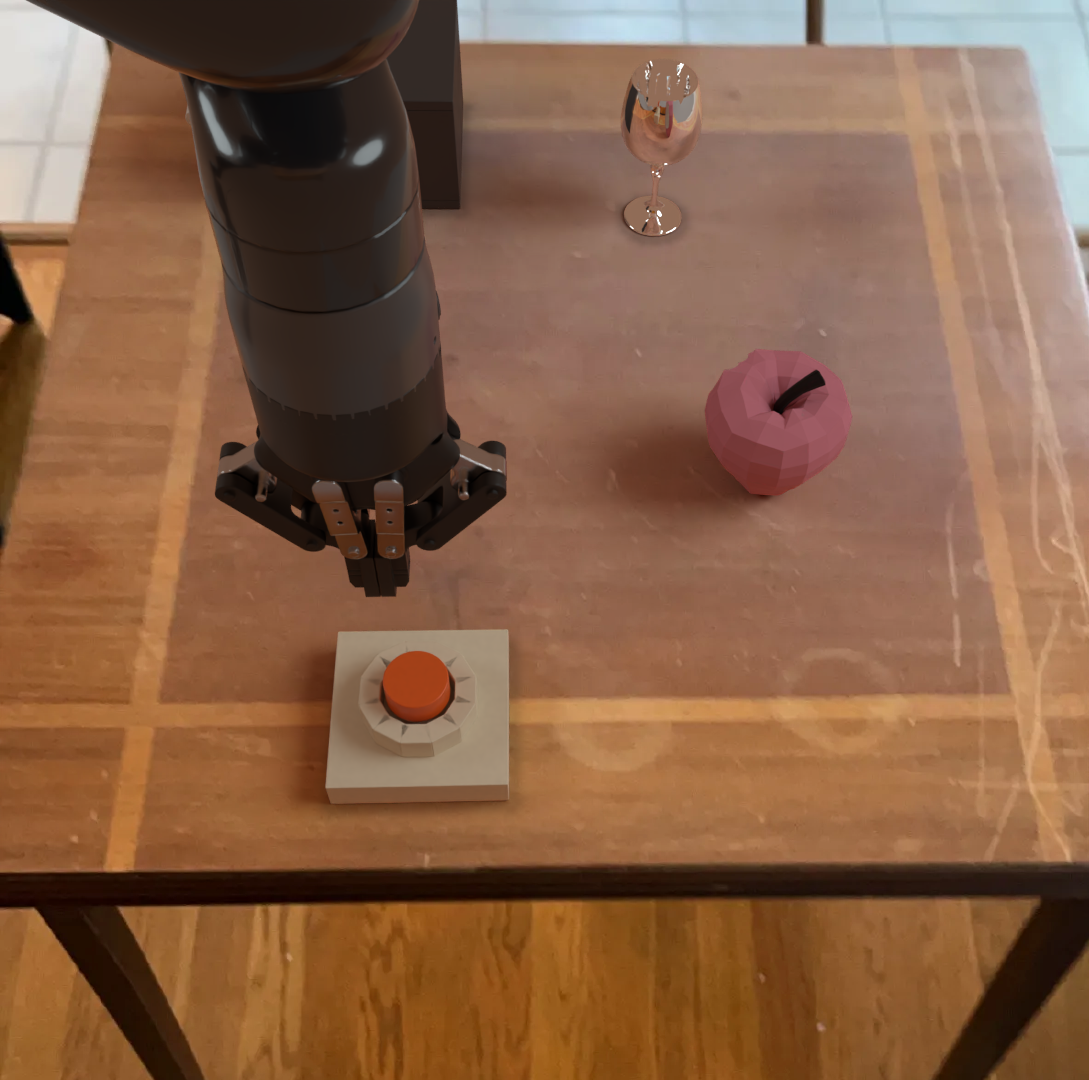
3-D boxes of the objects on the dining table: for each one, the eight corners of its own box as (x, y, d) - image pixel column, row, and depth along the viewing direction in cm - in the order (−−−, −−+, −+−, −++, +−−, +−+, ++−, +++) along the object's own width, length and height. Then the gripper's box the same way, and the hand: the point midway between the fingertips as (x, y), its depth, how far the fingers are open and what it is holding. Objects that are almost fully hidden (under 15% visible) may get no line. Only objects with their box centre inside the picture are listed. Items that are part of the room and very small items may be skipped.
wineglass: (607, 233, 98) (614, 97, 88) (624, 184, 101) (633, 47, 91) (681, 248, 98) (697, 113, 88) (697, 198, 101) (714, 62, 91)
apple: (767, 401, 90) (790, 296, 82) (860, 477, 87) (894, 375, 78) (668, 473, 86) (681, 370, 78) (761, 554, 83) (786, 456, 75)
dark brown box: (266, 208, 98) (241, 99, 90) (282, 101, 105) (260, -9, 97) (460, 209, 99) (453, 101, 91) (463, 103, 106) (456, -7, 98)
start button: (384, 722, 72) (380, 708, 70) (387, 666, 74) (384, 650, 72) (449, 721, 72) (447, 707, 70) (451, 665, 74) (449, 649, 72)
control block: (330, 804, 73) (320, 774, 70) (342, 649, 78) (333, 615, 75) (509, 800, 73) (507, 770, 70) (509, 647, 79) (507, 612, 75)
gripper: (144, 410, 46) (237, 650, 61) (516, 409, 47) (519, 646, 62) (171, 260, 50) (252, 520, 65) (514, 261, 51) (517, 517, 66)
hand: (382, 581), depth 63 cm, fingers closed
